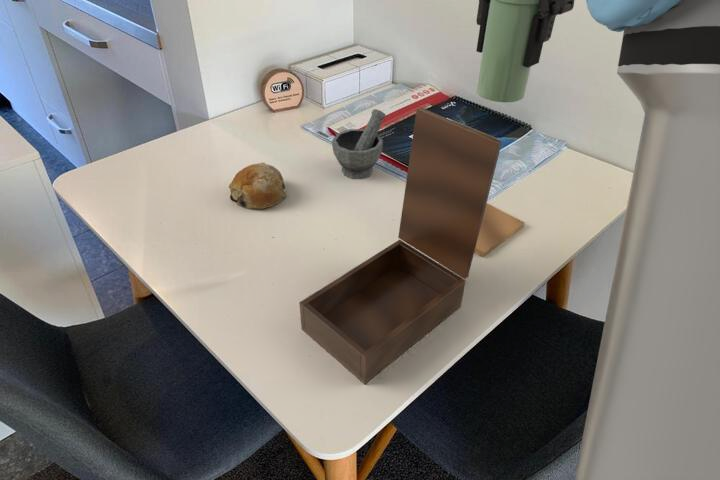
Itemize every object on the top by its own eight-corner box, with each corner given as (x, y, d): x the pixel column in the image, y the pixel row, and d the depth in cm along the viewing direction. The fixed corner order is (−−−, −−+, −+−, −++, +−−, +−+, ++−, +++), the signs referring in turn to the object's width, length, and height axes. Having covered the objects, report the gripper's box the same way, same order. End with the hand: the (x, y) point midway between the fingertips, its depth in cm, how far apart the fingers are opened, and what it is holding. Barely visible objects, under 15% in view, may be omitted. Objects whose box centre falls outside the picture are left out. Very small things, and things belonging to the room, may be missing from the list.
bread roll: (282, 224, 97) (297, 188, 93) (227, 212, 92) (242, 175, 88) (273, 195, 104) (288, 161, 101) (223, 183, 99) (236, 147, 96)
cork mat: (483, 257, 85) (484, 252, 84) (426, 224, 91) (427, 220, 91) (523, 226, 91) (524, 222, 91) (468, 198, 98) (468, 193, 97)
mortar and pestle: (350, 189, 100) (350, 132, 92) (324, 168, 106) (322, 113, 98) (396, 171, 105) (399, 116, 98) (368, 152, 111) (370, 99, 103)
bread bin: (364, 385, 65) (365, 358, 62) (301, 329, 72) (299, 302, 69) (461, 307, 76) (466, 280, 73) (397, 265, 83) (399, 239, 80)
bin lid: (498, 142, 60) (521, 132, 63) (416, 108, 67) (441, 100, 70) (464, 279, 72) (485, 265, 75) (397, 237, 79) (419, 226, 82)
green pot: (507, 108, 72) (529, -1, 63) (462, 91, 76) (477, -13, 67) (537, 93, 76) (562, -12, 67) (493, 77, 81) (511, -23, 72)
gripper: (648, -144, 55) (586, 70, 69) (490, -152, 66) (465, 34, 81) (616, -142, 51) (557, 85, 65) (454, -151, 62) (434, 45, 76)
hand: (506, 56), depth 73 cm, fingers closed on green pot, 7 cm apart
